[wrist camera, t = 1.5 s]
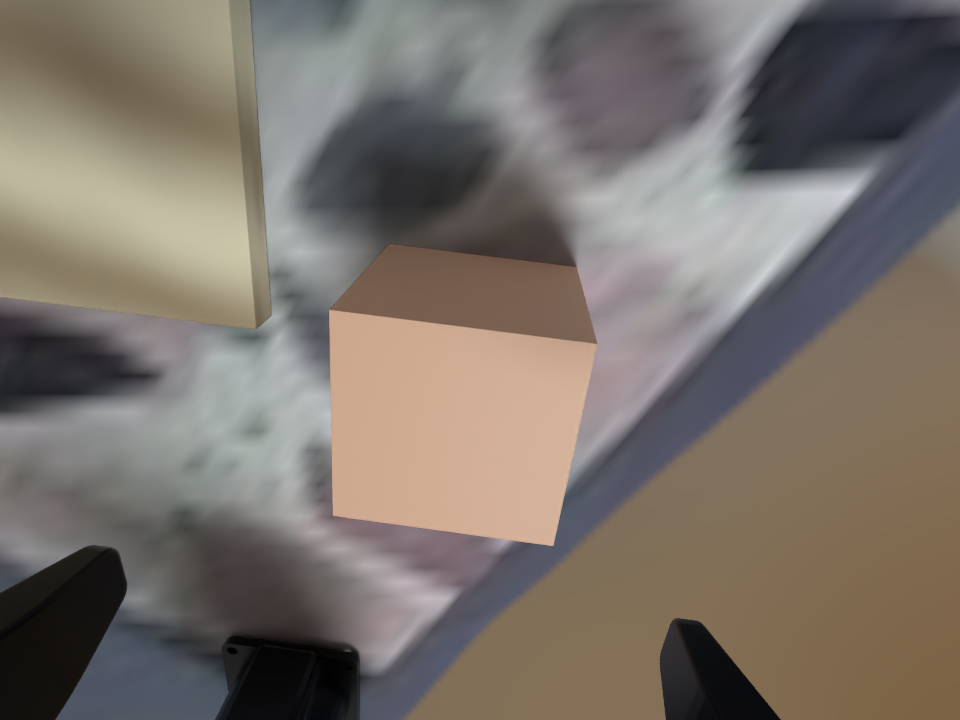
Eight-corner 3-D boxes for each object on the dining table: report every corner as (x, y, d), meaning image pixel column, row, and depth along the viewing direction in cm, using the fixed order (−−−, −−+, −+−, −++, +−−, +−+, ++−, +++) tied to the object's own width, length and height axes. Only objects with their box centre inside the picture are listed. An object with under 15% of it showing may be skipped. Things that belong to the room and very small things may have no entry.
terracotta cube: (546, 424, 20) (553, 545, 15) (384, 403, 20) (332, 515, 15) (576, 266, 18) (597, 343, 12) (390, 243, 18) (329, 309, 12)
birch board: (271, 315, 19) (256, 329, 18) (-122, 266, 19) (-160, 276, 18) (232, -243, 13) (205, -274, 12) (-344, -302, 13) (-421, -337, 12)
